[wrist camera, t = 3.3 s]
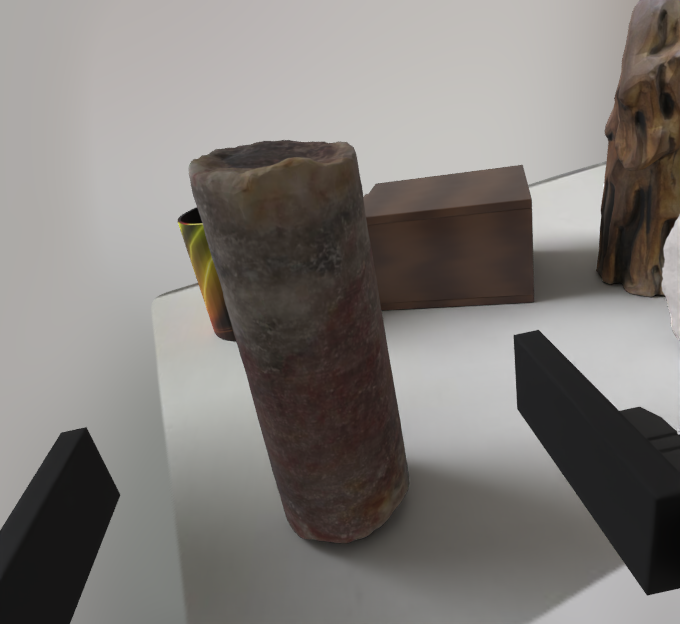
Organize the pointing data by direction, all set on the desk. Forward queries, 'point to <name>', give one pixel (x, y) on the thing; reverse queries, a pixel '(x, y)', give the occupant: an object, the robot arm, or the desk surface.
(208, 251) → the mug
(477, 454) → the desk surface
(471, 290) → the dresser
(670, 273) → the stone tool
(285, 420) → the candle
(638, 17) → the sculpture
